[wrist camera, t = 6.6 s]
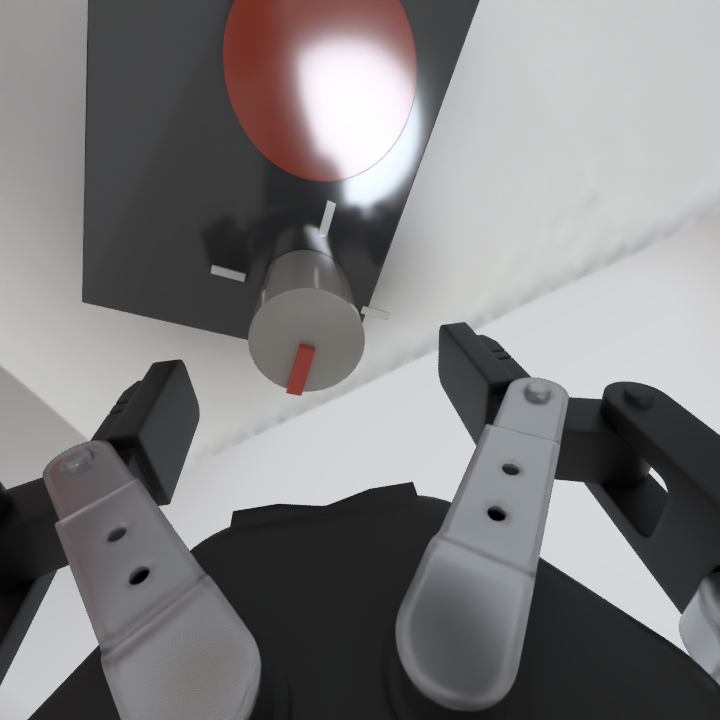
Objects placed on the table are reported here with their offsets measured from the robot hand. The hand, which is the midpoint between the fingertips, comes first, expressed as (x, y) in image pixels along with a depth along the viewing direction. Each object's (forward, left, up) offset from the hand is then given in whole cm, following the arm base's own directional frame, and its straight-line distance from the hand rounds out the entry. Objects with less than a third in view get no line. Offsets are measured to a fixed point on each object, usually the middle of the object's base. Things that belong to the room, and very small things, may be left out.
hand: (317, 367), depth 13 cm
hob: (-5, -3, -10) cm, 11 cm away
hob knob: (0, 0, -6) cm, 6 cm away
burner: (-8, -2, -7) cm, 10 cm away
